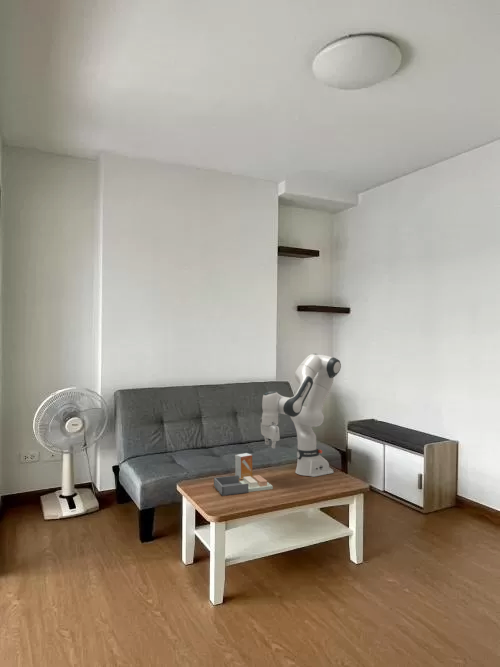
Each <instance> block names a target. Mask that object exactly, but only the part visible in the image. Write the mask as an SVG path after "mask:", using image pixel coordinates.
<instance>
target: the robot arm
mask: <svg viewBox="0 0 500 667" xmlns="http://www.w3.org/2000/svg"><path fill="white" fill-rule="evenodd" d="M341 368H342V364H341V361H340V360H339V359H338V358H337V357H332V356H330V355H325V354H318V353H311V354H309V355H308V356H306V357H305V358H304V359H303V360H302V362H300V364H299V365H298V366H297V368H296V370H295V372H294V377H295V379H296V381H297V382H298V384H299V387H298V389H297V391H296V392H295V394H294V396H291V397H288V396H283V395H281V394H279V393H278V392H277V391H276V390H274V391H273V390H270V391H266V392H264V393H263V395H262V401H261V402H262V403H261V406H262V407H261V408H262V413H261V418H259V423H260V434H261V436H263V437H264V438H263V439H264V441H265V442H264V444H265V445H267V446H268V445H270V441H269V440H271V445H270V446H271V448H272V449H276V445H277V442H279V441H280V440H281V439H280V438H281V437H280V434H281V433H280V428H279V426H278V425H279V414H282V415H286V416H288V417H290V420H291V421H292V422H293V425H294V428H295V431H296V438H297V440H296V441H297V448H296V459H297V462H296V463H297V464H296V468H295V474H297V475H300V476H304V477H305V476H307V477H308V476H309V477H319V476H325V475H330V474H334V469H333V468H331V467H330V464H329V461H328V460H327V459H325V458H324V457H323V456H322V455H320V454H323V450H322V449H319V448H317V435H316V433H315V432H314V430H313V428H317V427H320V426H321V425H322V424H323V423H324V420H325V419H324V418H325V416H324V413H323V406H324V404H325V401H326V399H327V397H328V395H329V393H330V391H331V388H332V386H333V384H334V378H335V377H336V376H337V375H338V374H339V373H340V371H341ZM316 375H317V376H316ZM315 377H316V378H315ZM306 399H308V400H307V404H306V406H304V403H305V401H306Z"/></svg>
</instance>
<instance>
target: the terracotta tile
mask: <svg viewBox="0 0 500 667" xmlns="http://www.w3.org/2000/svg"><path fill="white" fill-rule="evenodd" d="M252 478H253V479H254V480H255V481H257V484H258V485H259V486H260V487H261V486H267V482H268V480H267V479H265V478H264V477H263V476H261V475H259V474H257V475H252Z"/></svg>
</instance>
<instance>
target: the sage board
mask: <svg viewBox="0 0 500 667" xmlns="http://www.w3.org/2000/svg"><path fill="white" fill-rule="evenodd" d="M239 483H240V484H246V483H245V482H243V480H239ZM257 485H258V484H257ZM273 488H274V485H272V484H271V483H270V482H269V481H267V486H261V487H260V486H259V485H258V487H252V488H250V487H249V486H248V493H251V492H258V491H260V492H261V491H266V490H267V491H268V490H273Z"/></svg>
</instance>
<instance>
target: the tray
mask: <svg viewBox="0 0 500 667" xmlns="http://www.w3.org/2000/svg"><path fill="white" fill-rule="evenodd" d="M239 481H240V479H239V475H235V474H234V475H226V476H218V477H213V487H214V486H215V487H214V488H215V490H217V491H219V492H218V493H219V494H220V495H221V496H222V497H223V496H224V497H225V496H227V497H228V496H234V495H242V494H248V493H249V492H248V483H247V484H240V483H239Z"/></svg>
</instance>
